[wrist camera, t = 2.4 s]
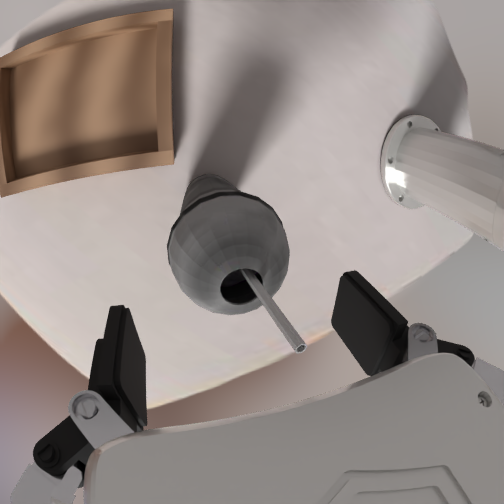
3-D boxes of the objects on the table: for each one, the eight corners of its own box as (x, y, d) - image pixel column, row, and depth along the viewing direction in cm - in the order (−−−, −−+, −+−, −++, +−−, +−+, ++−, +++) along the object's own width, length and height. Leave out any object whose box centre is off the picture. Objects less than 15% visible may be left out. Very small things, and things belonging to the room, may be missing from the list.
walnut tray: (173, 19, 18) (172, 8, 15) (174, 159, 24) (173, 164, 21) (7, 63, 14) (-7, 61, 11) (15, 189, 20) (1, 197, 18)
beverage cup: (164, 168, 24) (133, 302, 7) (240, 154, 25) (371, 247, 8) (179, 237, 28) (196, 423, 11) (248, 223, 29) (346, 380, 12)
